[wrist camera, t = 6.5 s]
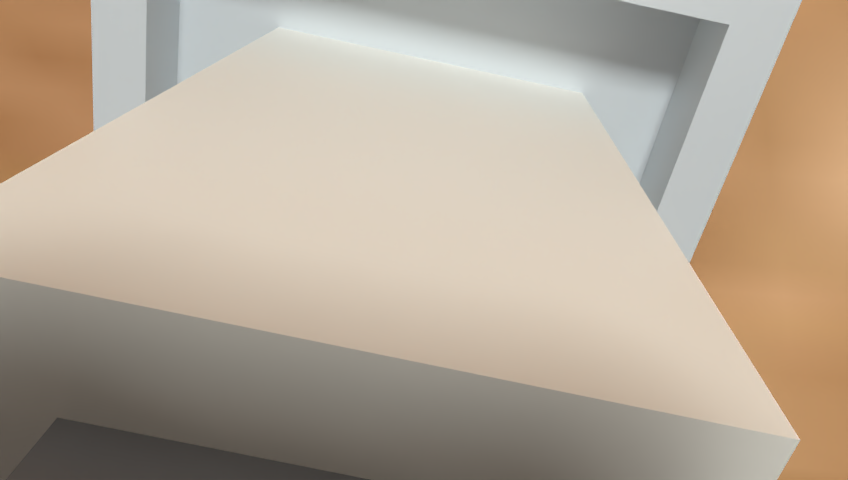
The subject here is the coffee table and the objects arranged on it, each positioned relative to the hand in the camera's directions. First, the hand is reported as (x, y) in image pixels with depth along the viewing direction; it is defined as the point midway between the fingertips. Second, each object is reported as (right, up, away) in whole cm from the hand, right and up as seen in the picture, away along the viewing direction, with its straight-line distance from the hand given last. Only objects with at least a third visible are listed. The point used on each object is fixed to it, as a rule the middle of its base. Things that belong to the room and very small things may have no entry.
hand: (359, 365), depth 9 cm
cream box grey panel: (0, +2, +3) cm, 4 cm away
